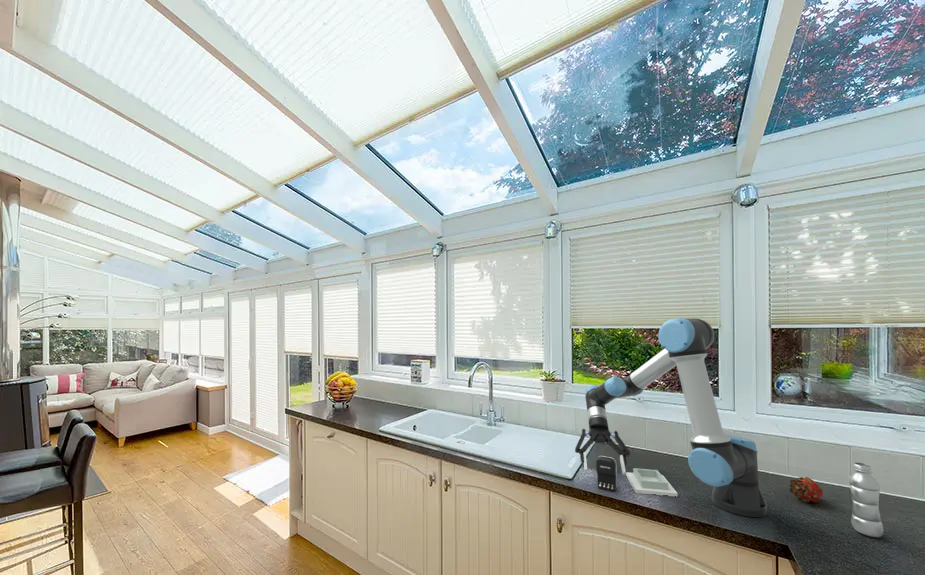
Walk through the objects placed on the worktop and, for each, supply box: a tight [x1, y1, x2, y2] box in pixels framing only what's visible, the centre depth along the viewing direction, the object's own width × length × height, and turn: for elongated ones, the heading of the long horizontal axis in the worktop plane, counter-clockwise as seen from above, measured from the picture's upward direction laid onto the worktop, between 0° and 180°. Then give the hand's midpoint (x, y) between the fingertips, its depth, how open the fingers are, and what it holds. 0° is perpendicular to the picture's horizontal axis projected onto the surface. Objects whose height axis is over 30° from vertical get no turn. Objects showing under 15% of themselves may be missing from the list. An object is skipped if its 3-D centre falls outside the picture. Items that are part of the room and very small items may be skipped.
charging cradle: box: [625, 467, 679, 498], centre depth 143 cm, size 14×16×4 cm
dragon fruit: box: [788, 476, 823, 504], centre depth 132 cm, size 8×8×12 cm
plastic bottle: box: [848, 461, 884, 538], centre depth 112 cm, size 6×7×20 cm
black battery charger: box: [595, 455, 618, 492], centre depth 140 cm, size 7×4×11 cm, turn 58°
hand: (604, 472), depth 140 cm, fingers open, 13 cm apart
